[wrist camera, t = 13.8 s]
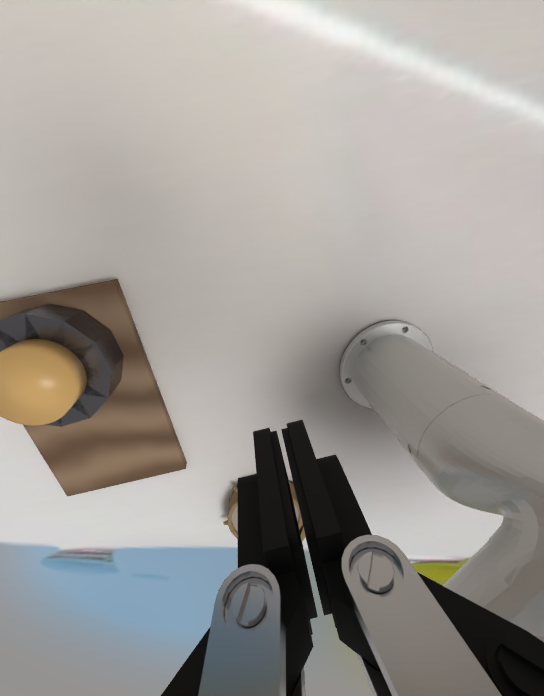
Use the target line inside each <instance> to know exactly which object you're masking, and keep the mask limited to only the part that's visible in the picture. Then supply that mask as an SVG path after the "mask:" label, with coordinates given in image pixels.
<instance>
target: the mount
mask: <svg viewBox="0 0 544 696" xmlns="http://www.w3.org/2000/svg"><path fill="white" fill-rule="evenodd" d="M48 303H51V304H56V305H61V306H66V307H70V308H75V309H80V310H84V311H85V312H87V313H88V314H90V315H91V316H92V317H94V318H95V319H96V320H98V321H99V322H101V323H102V324H103V325H105V326H106V327H108V328H109V329H110V330H111V331H112V333H113V335H114V337H115V339H116V341H117V343H118V345H119V347H120V349H121V351H122V353H123V355H124V359H123V369H122V379H121V381H120V383H119V384H118V386H117V387H116V388H115V390H114V391H113V393H112V394H111V396H110V397H109V398H108V400H107V401H106V402H105V403H104V404H103V405H102V406H101V407H100V408H99V409H98V410H97V412H96V413H95V414H94V415H93V416H92V417H91V418H89V419H86V420H82V421H79V422H76V423H72V424H69V425H66V426H62V427H59V426H51V425H24V424H23V426H24V427H25V429H26V431H27V432H28V434H29V435H30V437H31V439H32V440H33V442H34V443H35V445H36V447H37V448H38V450H39V451H40V453H41V455H42V456H43V458H44V460H45V461H46V463H47V464H48V466H49V468H50V469H51V471H52V472H53V474H54V476H55V477H56V479H57V480H58V482H59V484H60V485H61V487H62V488H63V490H64V492H65V493H66V495H67V496H71V495H76V494H80V493H84V492H88V491H93V490H97V489H101V488H106V487H110V486H114V485H118V484H123V483H127V482H131V481H136V480H140V479H144V478H149V477H153V476H157V475H161V474H166V473H170V472H174V471H179V470H183V469H186V464H187V462H186V459H185V457H184V454H183V451H182V449H181V446H180V443H179V441H178V438H177V435H176V433H175V430H174V428H173V425H172V422H171V420H170V417H169V414H168V412H167V409H166V406H165V404H164V401H163V398H162V396H161V393H160V390H159V388H158V385H157V382H156V380H155V377H154V374H153V372H152V369H151V367H150V364H149V361H148V359H147V356H146V353H145V351H144V348H143V345H142V343H141V340H140V337H139V335H138V332H137V329H136V327H135V324H134V321H133V319H132V316H131V313H130V311H129V308H128V305H127V303H126V300H125V298H124V295H123V292H122V290H121V287H120V284H119V282H118V279H116V280H111V281H106V282H101V283H96V284H91V285H85V286H80V287H75V288H70V289H65V290H60V291H55V292H50V293H45V294H40V295H35V296H29V297H24V298H19V299H14V300H9V301H4V302H0V320H1V319H4V318H6V317H8V316H11V315H13V314H16V313H18V312H21V311H25V310H28V309H31V308H35V307H38V306H42V305H45V304H48Z"/></svg>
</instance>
